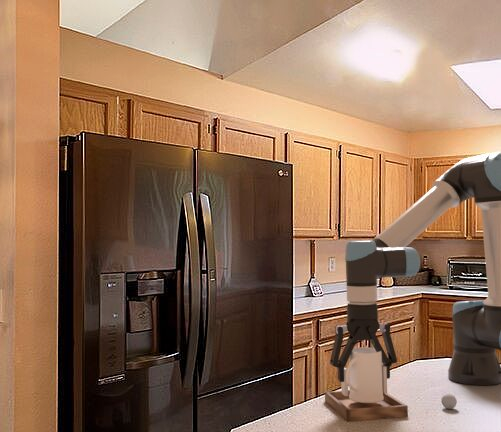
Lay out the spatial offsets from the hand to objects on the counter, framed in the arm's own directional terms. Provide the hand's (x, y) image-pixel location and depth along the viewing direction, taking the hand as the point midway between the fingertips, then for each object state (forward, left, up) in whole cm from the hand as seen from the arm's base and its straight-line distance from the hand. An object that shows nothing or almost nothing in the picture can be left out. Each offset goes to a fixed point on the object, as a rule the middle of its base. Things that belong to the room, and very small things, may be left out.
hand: (364, 393), depth 151 cm
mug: (+1, 0, -2) cm, 2 cm away
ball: (-20, +5, -4) cm, 21 cm away
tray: (0, 0, -4) cm, 4 cm away
